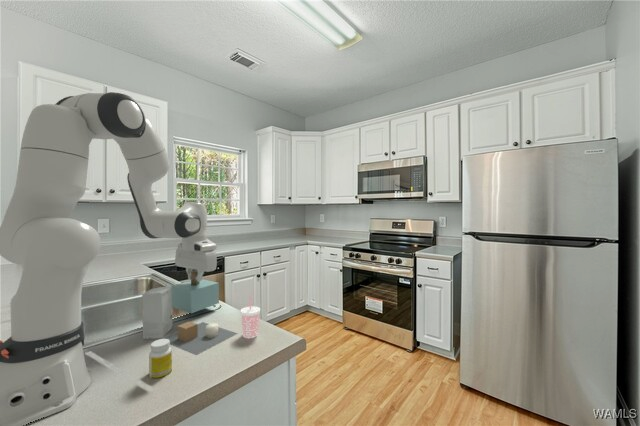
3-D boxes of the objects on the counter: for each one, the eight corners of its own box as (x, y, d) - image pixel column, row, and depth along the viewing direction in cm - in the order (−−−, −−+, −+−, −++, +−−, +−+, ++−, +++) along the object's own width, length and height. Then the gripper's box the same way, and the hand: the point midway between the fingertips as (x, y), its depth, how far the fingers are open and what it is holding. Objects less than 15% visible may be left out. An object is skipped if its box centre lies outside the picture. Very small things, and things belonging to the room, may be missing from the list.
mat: (196, 358, 76) (196, 340, 76) (160, 343, 84) (160, 326, 84) (237, 336, 89) (237, 321, 89) (202, 324, 97) (202, 310, 97)
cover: (191, 313, 98) (191, 276, 98) (171, 306, 104) (170, 272, 104) (218, 303, 109) (218, 270, 109) (199, 297, 115) (198, 266, 115)
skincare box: (162, 341, 86) (162, 293, 85) (141, 342, 85) (141, 294, 84) (173, 329, 94) (172, 285, 94) (153, 330, 93) (153, 286, 93)
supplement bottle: (175, 375, 69) (175, 341, 68) (155, 385, 65) (155, 349, 64) (165, 368, 71) (165, 336, 71) (145, 377, 67) (145, 343, 67)
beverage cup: (236, 341, 86) (236, 296, 86) (246, 332, 92) (246, 290, 92) (254, 343, 84) (254, 297, 84) (263, 334, 90) (263, 291, 90)
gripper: (170, 243, 108) (170, 278, 109) (205, 247, 98) (205, 286, 99) (185, 241, 114) (185, 274, 114) (219, 245, 104) (219, 282, 104)
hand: (195, 280), depth 106 cm, fingers closed on cover, 3 cm apart
